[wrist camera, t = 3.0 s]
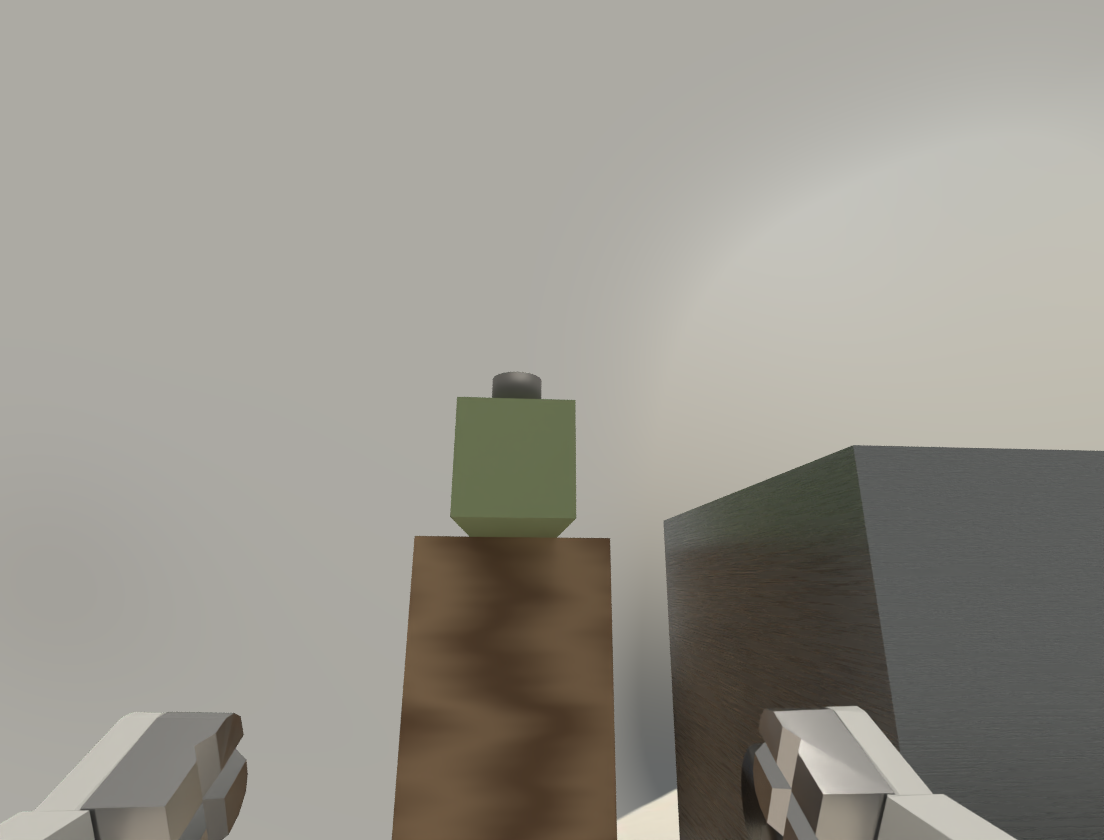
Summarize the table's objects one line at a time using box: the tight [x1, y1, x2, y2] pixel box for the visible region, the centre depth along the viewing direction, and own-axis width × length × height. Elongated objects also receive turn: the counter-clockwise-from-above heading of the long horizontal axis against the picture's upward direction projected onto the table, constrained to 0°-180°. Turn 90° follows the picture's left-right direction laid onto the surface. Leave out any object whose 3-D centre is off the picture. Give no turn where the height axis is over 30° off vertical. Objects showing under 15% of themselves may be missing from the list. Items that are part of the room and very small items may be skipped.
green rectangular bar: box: [450, 372, 576, 538], centre depth 27 cm, size 4×19×5 cm, turn 4°
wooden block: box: [392, 536, 617, 840], centre depth 26 cm, size 9×10×26 cm
